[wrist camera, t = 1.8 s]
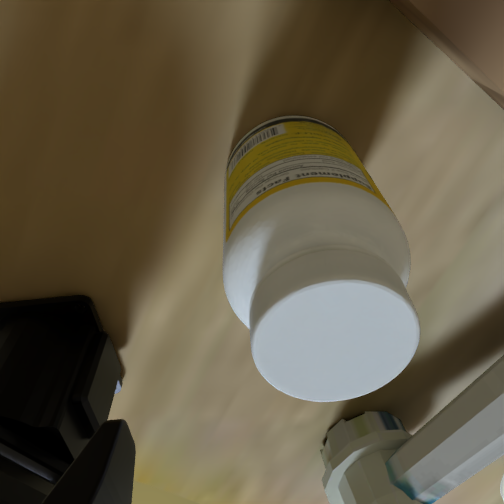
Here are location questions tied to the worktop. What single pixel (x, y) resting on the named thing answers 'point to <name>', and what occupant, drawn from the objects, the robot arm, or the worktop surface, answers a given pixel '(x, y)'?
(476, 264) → the worktop surface
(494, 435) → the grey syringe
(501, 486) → the canister
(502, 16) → the block with rectangular hole
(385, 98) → the worktop surface
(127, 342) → the worktop surface
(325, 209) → the supplement bottle
